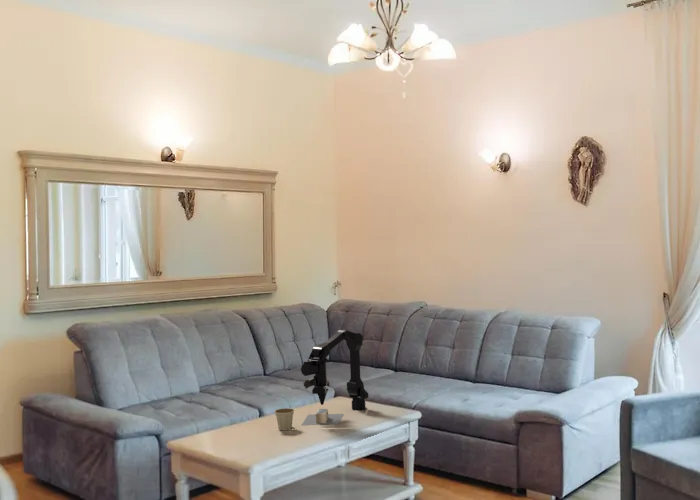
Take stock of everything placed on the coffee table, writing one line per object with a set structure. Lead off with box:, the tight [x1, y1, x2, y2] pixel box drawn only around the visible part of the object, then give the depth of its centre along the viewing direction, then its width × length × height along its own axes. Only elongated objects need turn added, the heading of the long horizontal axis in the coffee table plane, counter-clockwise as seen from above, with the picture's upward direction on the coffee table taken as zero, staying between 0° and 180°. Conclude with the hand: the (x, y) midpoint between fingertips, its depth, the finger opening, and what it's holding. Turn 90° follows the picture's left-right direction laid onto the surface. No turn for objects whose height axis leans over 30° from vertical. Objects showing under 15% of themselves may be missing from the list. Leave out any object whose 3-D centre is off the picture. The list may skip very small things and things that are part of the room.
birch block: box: [315, 408, 329, 423], centre depth 336 cm, size 4×4×10 cm
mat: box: [301, 413, 344, 426], centre depth 339 cm, size 18×20×1 cm
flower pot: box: [274, 407, 295, 431], centre depth 326 cm, size 9×9×9 cm
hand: (322, 404), depth 338 cm, fingers closed
